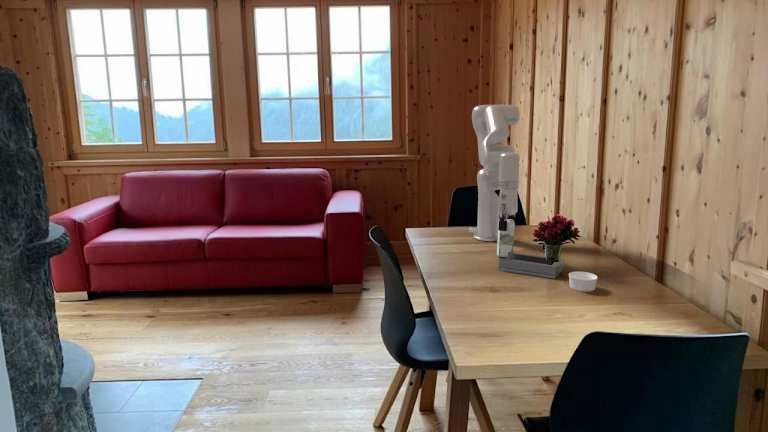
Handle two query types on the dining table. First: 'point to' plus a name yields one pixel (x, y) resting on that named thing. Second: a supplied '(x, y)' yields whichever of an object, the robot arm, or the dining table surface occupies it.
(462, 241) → the dining table surface
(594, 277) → the ramekin
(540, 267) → the track
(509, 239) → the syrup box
